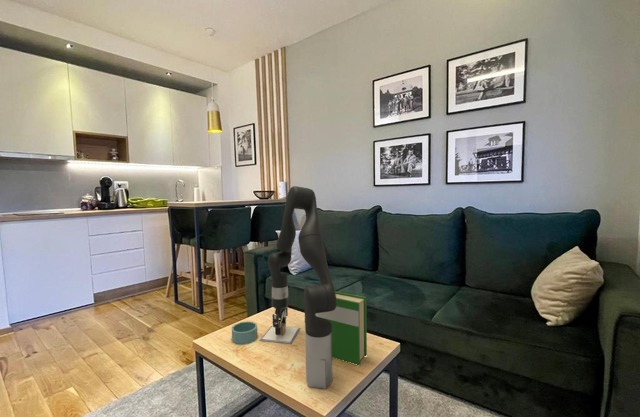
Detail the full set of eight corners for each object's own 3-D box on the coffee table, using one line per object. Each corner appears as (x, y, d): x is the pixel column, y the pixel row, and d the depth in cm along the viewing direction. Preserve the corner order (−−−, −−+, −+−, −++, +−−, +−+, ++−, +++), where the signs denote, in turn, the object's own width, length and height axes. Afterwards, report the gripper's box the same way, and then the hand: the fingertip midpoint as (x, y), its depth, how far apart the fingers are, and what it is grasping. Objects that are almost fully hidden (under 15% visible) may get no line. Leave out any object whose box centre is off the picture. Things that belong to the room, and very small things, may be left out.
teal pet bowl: (250, 346, 124) (250, 333, 124) (227, 344, 126) (227, 331, 126) (261, 334, 135) (260, 322, 134) (239, 332, 137) (239, 320, 137)
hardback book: (366, 356, 115) (366, 297, 114) (359, 366, 109) (358, 303, 107) (328, 344, 124) (327, 289, 123) (319, 353, 118) (318, 295, 117)
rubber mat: (291, 345, 124) (291, 344, 124) (259, 342, 127) (259, 341, 127) (301, 329, 139) (300, 328, 139) (271, 326, 142) (271, 325, 142)
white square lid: (290, 342, 126) (289, 332, 125) (262, 340, 128) (261, 330, 128) (298, 329, 138) (298, 319, 138) (272, 327, 141) (272, 317, 141)
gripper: (282, 301, 125) (283, 339, 125) (292, 290, 139) (293, 324, 139) (266, 300, 126) (267, 337, 127) (277, 290, 140) (278, 323, 141)
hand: (280, 330), depth 133 cm, fingers open, 7 cm apart
